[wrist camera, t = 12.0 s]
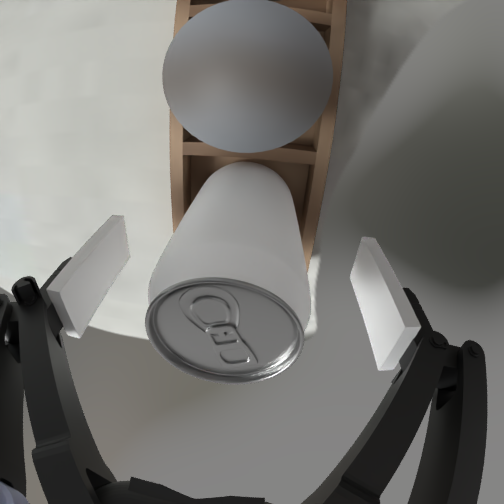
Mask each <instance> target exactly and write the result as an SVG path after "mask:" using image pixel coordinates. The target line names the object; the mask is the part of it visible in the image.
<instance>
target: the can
mask: <svg viewBox="0 0 504 504" xmlns="http://www.w3.org/2000/svg"><path fill="white" fill-rule="evenodd" d="M148 302H149V307H148V310H147V313H146V318H145V327H146V332H147V335H148V338H149V340H150V342H151V344H152V345H153V347H154V348H155V350H156V351H157V352H158V353H159V354H160V355H161V356H162V357H163V358H164V359H165V360H166V361H167V362H168V363H170V364H171V365H173V366H174V367H176V368H177V369H179V370H181V371H183V372H184V373H187V374H189V375H191V376H193V377H196V378H199V379H202V380H206V381H210V382H215V383H222V384H249V383H255V382H260V381H263V380H267V379H270V378H272V377H275V376H277V375H279V374H280V373H282V372H284V371H285V370H287V369H288V368H289V367H290V366H292V365H293V363H294V362H295V361H296V360H297V359H298V357H299V356H300V354H301V351H302V349H303V345H304V331H305V329H306V327H307V325H308V322H309V318H310V314H311V295H310V287H309V281H308V274H307V269H306V263H305V257H304V252H303V246H302V241H301V236H300V231H299V226H298V221H297V216H296V212H295V207H294V203H293V199H292V195H291V192H290V190H289V188H288V186H287V184H286V183H285V181H284V180H283V179H282V178H281V177H280V176H279V175H278V174H277V173H276V172H275V171H273V170H272V169H270V168H268V167H266V166H264V165H261V164H258V163H254V162H246V161H242V162H235V163H232V164H229V165H226V166H224V167H222V168H220V169H219V170H217V171H216V172H214V173H213V174H212V175H211V176H210V177H209V178H208V179H207V181H206V182H205V183H204V185H203V186H202V188H201V189H200V191H199V192H198V194H197V196H196V197H195V199H194V200H193V202H192V204H191V205H190V207H189V208H188V210H187V212H186V213H185V215H184V217H183V218H182V220H181V222H180V224H179V225H178V227H177V229H176V230H175V232H174V234H173V236H172V237H171V239H170V241H169V243H168V245H167V246H166V248H165V250H164V252H163V254H162V256H161V257H160V259H159V261H158V263H157V265H156V267H155V269H154V272H153V274H152V277H151V280H150V283H149V289H148Z"/></svg>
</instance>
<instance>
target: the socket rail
mask: <svg viewBox="0 0 504 504" xmlns="http://www.w3.org/2000/svg"><path fill="white" fill-rule="evenodd" d="M346 8H347V0H177V5H176V14H175V24H174V35H173V40H172V42H171V44H170V46H169V48H168V51H167V53H166V56H165V60H164V65H163V73H162V74H163V88H164V93H165V97H166V100H167V103H168V105H169V107H170V178H171V201H172V219H173V233H174V232H175V230H176V229H177V227H178V225H179V224H180V222H181V220H182V218H183V217H184V215H185V213H186V212H187V210H188V208H189V207H190V205H191V204H192V202H193V200H194V199H195V197H196V196H197V194H198V192H199V191H200V189H201V188H202V186H203V185H204V183H205V182H206V181H207V179H208V178H209V177H210V176H211V175H212V174H213V173H214V172H216V171H217V170H219V169H220V168H222V167H224V166H226V165H229V164H232V163H235V162H242V161H246V162H254V163H258V164H261V165H264V166H266V167H268V168H270V169H272V170H273V171H275V172H276V173H277V174H278V175H279V176H280V177H281V178H282V179H283V180H284V181H285V183H286V184H287V186H288V188H289V190H290V192H291V195H292V199H293V203H294V207H295V212H296V216H297V221H298V226H299V231H300V236H301V241H302V246H303V252H304V257H305V263H306V269H307V272H308V268H309V263H310V259H311V254H312V249H313V245H314V240H315V235H316V230H317V225H318V220H319V215H320V210H321V205H322V199H323V194H324V188H325V183H326V177H327V171H328V165H329V159H330V153H331V147H332V140H333V133H334V126H335V119H336V112H337V104H338V96H339V88H340V79H341V70H342V60H343V49H344V38H345V24H346Z"/></svg>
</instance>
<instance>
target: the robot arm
mask: <svg viewBox="0 0 504 504" xmlns="http://www.w3.org/2000/svg"><path fill="white" fill-rule="evenodd" d="M129 258H130V252H129V246H128V241H127V235H126V228H125V222H124V216H117V215H112V216H111V217H110V218H109V219H108V220H107V221H106V222H105V223H104V224H103V225H102V226H101V227H100V228H99V229H98V230H97V231H96V232H95V233H94V235H93V236H92V237H91V238H90V239H89V240H88V241H87V242H86V243H85V244H84V245H83V246H82V247H81V249H80V250H79V251H78V252H77V253H76V254H75V255H74V256H73V258H72V257H70V258H68V259H67V260H65V261H64V262H62V263H61V265H60V266H59V267H58V268H57V270H55V272H54V273H53V275H51V276H50V278H49V279H48V280H47V281H46V282H45V284H44V285H43V286H42V287H41V289H40V290H39V287H38V285H37V283H36V280H35V278H33V277H30V276H27V277H23V278H21V279H19V280H18V281H17V282H16V283H15V284H14V285H13V286H12V293H13V295H14V297H15V299H16V301H17V302H10V300H9V298H8V296H7V295H5V294H0V504H30V503H28V501H27V499H26V473H25V462H24V447H23V398H24V390H25V396H26V402H27V407H28V412H29V417H30V421H31V426H32V430H33V434H34V438H35V442H36V448H35V449H33V450H32V458H33V462H34V465H35V468H36V471H37V474H38V477H39V480H40V483H41V486H42V488H43V491H44V494H45V496H46V499H47V501H48V504H271V503H268V502H265V498H254V497H253V498H252V497H238V496H226V497H216V498H204V499H194V498H190V497H188V496H186V495H183V494H181V493H179V492H176V491H174V490H172V489H170V488H167V487H165V486H163V485H161V484H156V483H153V482H149V481H145V480H141V479H138V478H134V477H131V479H130V481H119V482H117V480H116V479H115V477H114V475H113V474H112V472H111V471H110V469H109V468H108V467H107V466H106V464H105V463H104V461H103V459H102V457H101V455H100V453H99V451H98V449H97V446H96V444H95V441H94V439H93V437H92V434H91V432H90V429H89V427H88V424H87V422H86V419H85V416H84V413H83V410H82V408H81V405H80V402H79V399H78V396H77V392H76V389H75V386H74V382H73V379H72V375H71V372H70V368H69V364H68V361H67V356H66V352H65V348H64V344H63V339H62V336H61V334H60V330H61V329H62V327H64V329H65V331H66V333H67V335H69V336H73V337H76V338H81V336H82V334H83V332H84V331H85V329H86V327H87V325H88V324H89V322H90V320H91V318H92V317H93V315H94V313H95V312H96V310H97V308H98V307H99V305H100V303H101V302H102V300H103V298H104V297H105V295H106V294H107V292H108V290H109V289H110V287H111V286H112V284H113V283H114V281H115V279H116V278H117V276H118V275H119V273H120V272H121V270H122V269H123V267H124V266H125V264H126V263H127V261H128V260H129ZM350 279H351V282H352V285H353V288H354V291H355V294H356V297H357V300H358V303H359V306H360V309H361V312H362V315H363V319H364V322H365V325H366V329H367V332H368V335H369V339H370V342H371V346H372V349H373V353H374V356H375V360H376V364H377V367H378V371H379V370H393V369H394V368H395V366H396V365H397V364H398V362H400V365H401V370H400V371H399V372H398V374H397V375H396V376H395V378H394V379H393V380H392V385H391V387H390V388H389V390H388V392H387V394H386V395H385V397H384V399H383V400H382V402H381V403H380V405H379V407H378V408H377V410H376V412H375V413H374V415H373V417H372V418H371V419H370V421H369V422H368V424H367V425H366V427H365V428H364V430H363V431H362V433H361V434H360V436H359V437H358V438H357V440H356V441H355V443H354V444H353V446H352V447H351V448H350V449H349V451H348V452H347V453H346V455H345V456H344V457H343V459H342V460H341V461H340V462H339V464H338V465H337V466H336V468H335V469H334V470H333V471H332V472H331V473H330V475H329V476H328V477H327V478H326V480H325V481H324V482H323V483H322V484H321V486H319V488H318V489H317V490H316V491H315V492H314V493H313V494H311V495H310V496H309V497H308V498H307V499H306V500H305V501H304V502H303V503H301V504H380V500H379V498H380V495H381V494H382V492H383V491H384V489H385V488H386V486H387V484H388V483H389V481H390V480H391V478H392V476H393V475H394V473H395V471H396V470H397V468H398V466H399V465H400V463H401V461H402V459H403V457H404V456H405V454H406V452H407V450H408V448H409V447H410V444H411V443H412V441H413V439H414V437H415V435H416V432H417V431H418V428H419V426H420V424H421V422H422V420H423V417H424V415H425V413H426V411H427V409H428V406H429V404H430V401H431V399H432V403H431V410H430V416H429V422H428V428H427V433H426V438H425V443H424V448H423V452H422V457H421V460H420V464H419V468H418V472H417V475H416V479H415V482H414V486H413V489H412V492H411V495H410V498H409V501H408V504H477V499H478V495H479V490H480V485H481V479H482V472H483V466H484V457H485V448H486V433H487V379H486V364H485V354H484V351H483V349H482V347H481V346H480V345H479V344H478V343H476V342H474V341H471V340H468V341H465V343H464V344H463V345H462V346H461V347H457V346H453V345H449V343H448V341H447V339H446V338H445V337H444V336H443V335H442V334H440V333H439V332H436V331H433V329H432V327H431V325H430V323H429V321H428V319H427V317H426V315H425V313H424V311H423V310H422V307H421V305H420V304H419V301H418V299H417V298H416V296H415V294H414V293H413V292H412V291H411V290H410V289H409V288H402V286H401V284H400V283H399V281H398V279H397V277H396V275H395V273H394V272H393V270H392V268H391V266H390V264H389V262H388V260H387V259H386V257H385V255H384V253H383V251H382V250H381V248H380V246H379V245H378V243H377V242H376V239H375V238H370V237H362V239H361V242H360V246H359V249H358V252H357V256H356V259H355V262H354V265H353V269H352V272H351V275H350ZM5 339H6V342H5V341H4V340H5Z"/></svg>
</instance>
